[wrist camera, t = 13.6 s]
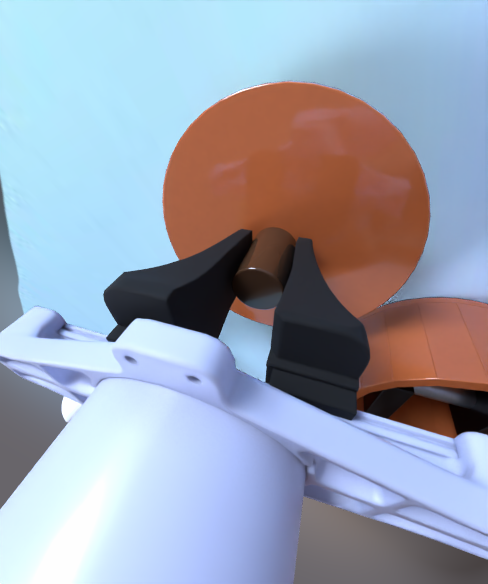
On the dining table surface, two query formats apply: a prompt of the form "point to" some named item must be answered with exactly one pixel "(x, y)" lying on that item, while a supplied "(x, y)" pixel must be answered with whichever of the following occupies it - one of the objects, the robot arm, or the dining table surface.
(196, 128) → the lid
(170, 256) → the dining table surface
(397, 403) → the dumbbell
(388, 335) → the pot
